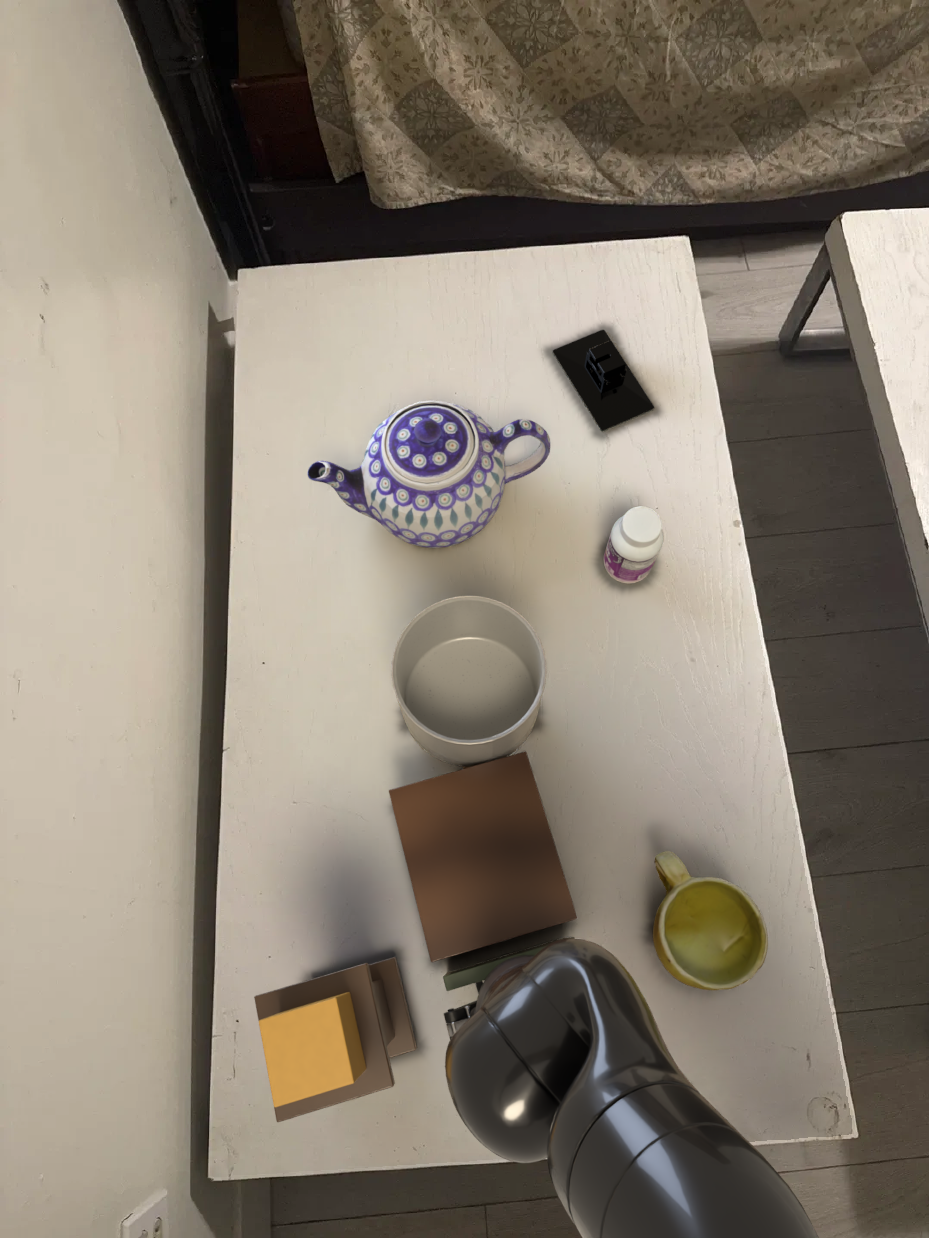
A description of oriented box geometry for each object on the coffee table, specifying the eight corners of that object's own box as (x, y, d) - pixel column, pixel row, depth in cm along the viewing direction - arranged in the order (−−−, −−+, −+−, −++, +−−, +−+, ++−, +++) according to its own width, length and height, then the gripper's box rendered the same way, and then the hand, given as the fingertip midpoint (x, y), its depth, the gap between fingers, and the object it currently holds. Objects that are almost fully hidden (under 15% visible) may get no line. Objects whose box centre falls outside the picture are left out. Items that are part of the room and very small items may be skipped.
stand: (417, 1047, 79) (393, 1086, 58) (331, 1074, 78) (276, 1122, 58) (395, 956, 82) (366, 962, 61) (312, 981, 81) (253, 996, 60)
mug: (790, 979, 78) (783, 970, 70) (682, 1011, 81) (662, 1006, 72) (737, 848, 85) (724, 825, 76) (637, 881, 87) (615, 863, 79)
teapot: (533, 426, 101) (541, 343, 87) (559, 545, 96) (573, 477, 82) (318, 459, 100) (291, 381, 86) (332, 581, 95) (306, 518, 81)
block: (366, 1069, 59) (354, 1083, 53) (294, 1091, 58) (273, 1107, 53) (349, 991, 60) (336, 996, 55) (279, 1012, 60) (258, 1020, 54)
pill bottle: (599, 541, 96) (612, 500, 87) (648, 538, 96) (665, 497, 87) (605, 587, 94) (618, 549, 85) (654, 584, 94) (673, 546, 85)
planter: (408, 658, 92) (392, 596, 75) (532, 656, 91) (543, 594, 75) (407, 782, 87) (389, 745, 70) (537, 780, 87) (550, 743, 70)
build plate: (551, 352, 105) (554, 326, 100) (605, 330, 106) (610, 304, 101) (601, 432, 100) (606, 409, 96) (656, 408, 101) (664, 384, 97)
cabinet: (566, 920, 82) (577, 918, 72) (437, 959, 81) (431, 962, 71) (521, 772, 87) (526, 750, 77) (399, 806, 86) (388, 789, 76)
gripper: (450, 1106, 57) (457, 1068, 73) (643, 1047, 58) (607, 1022, 74) (422, 986, 59) (434, 975, 76) (607, 931, 60) (580, 931, 77)
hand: (520, 998), depth 75 cm, fingers closed
